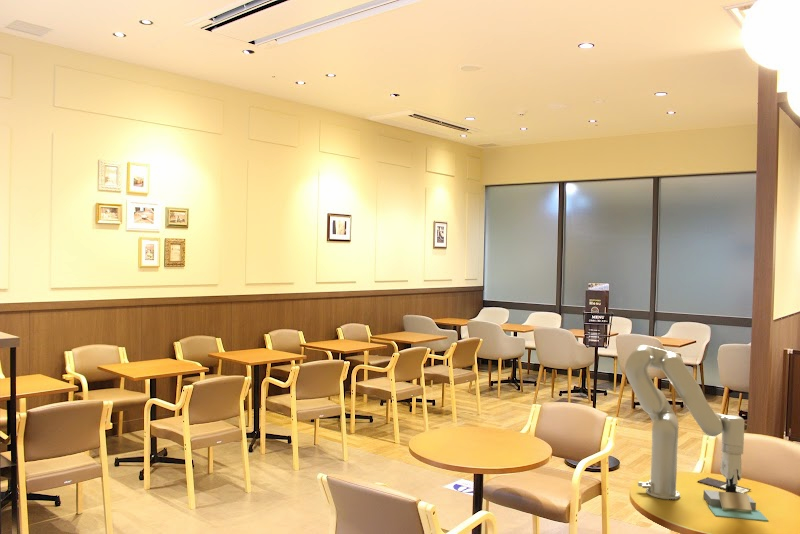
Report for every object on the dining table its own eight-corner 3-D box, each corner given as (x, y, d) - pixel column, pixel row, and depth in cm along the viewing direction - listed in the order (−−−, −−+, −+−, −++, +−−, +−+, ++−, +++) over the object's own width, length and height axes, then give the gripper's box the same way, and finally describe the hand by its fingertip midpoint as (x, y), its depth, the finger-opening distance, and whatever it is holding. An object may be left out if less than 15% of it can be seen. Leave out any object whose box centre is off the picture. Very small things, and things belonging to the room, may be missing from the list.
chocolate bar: (708, 477, 287) (750, 489, 273) (707, 479, 287) (750, 491, 273) (697, 481, 282) (740, 493, 268) (697, 483, 282) (740, 495, 268)
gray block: (710, 506, 253) (710, 498, 253) (703, 497, 263) (703, 489, 263) (755, 510, 250) (755, 502, 250) (746, 501, 260) (747, 493, 260)
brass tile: (722, 509, 249) (723, 507, 248) (718, 493, 254) (719, 491, 253) (751, 512, 247) (752, 509, 246) (746, 496, 253) (747, 493, 252)
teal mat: (715, 516, 243) (715, 515, 243) (707, 506, 253) (707, 505, 253) (768, 521, 240) (768, 520, 240) (758, 511, 250) (758, 510, 250)
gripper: (716, 442, 263) (714, 488, 263) (728, 452, 248) (726, 501, 248) (736, 443, 262) (734, 490, 262) (749, 454, 247) (747, 503, 247)
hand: (730, 495), depth 255 cm, fingers closed
